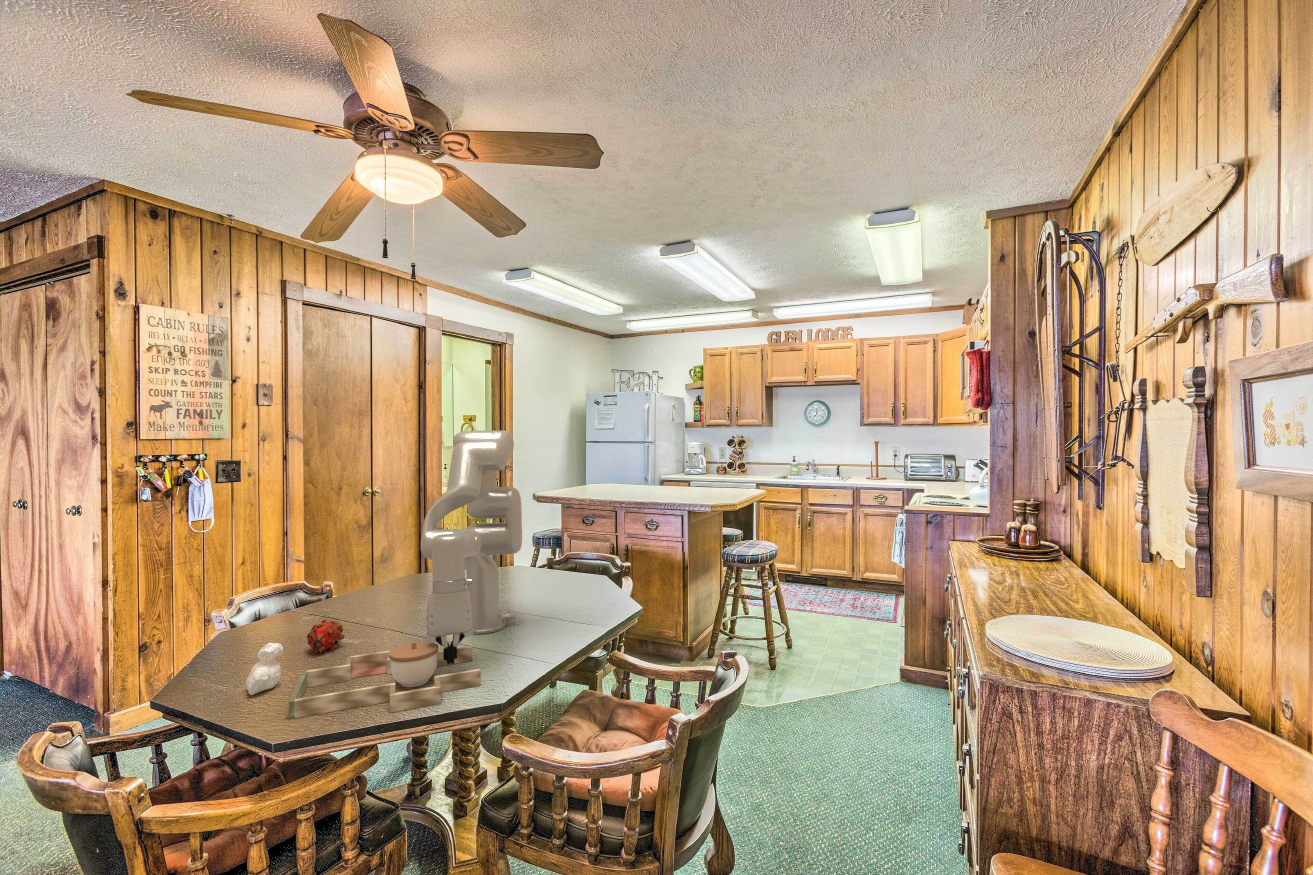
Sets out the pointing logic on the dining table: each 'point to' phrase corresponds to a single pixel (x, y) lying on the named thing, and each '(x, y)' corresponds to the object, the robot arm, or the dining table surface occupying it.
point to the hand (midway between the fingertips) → (450, 662)
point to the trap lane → (376, 694)
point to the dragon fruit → (325, 635)
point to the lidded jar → (414, 663)
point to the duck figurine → (265, 669)
